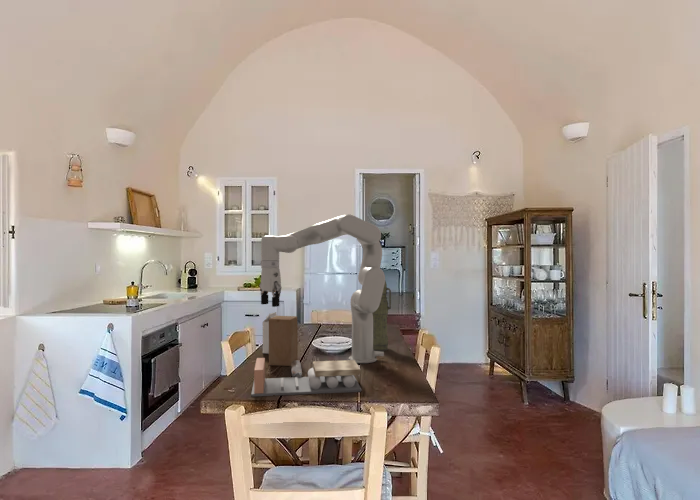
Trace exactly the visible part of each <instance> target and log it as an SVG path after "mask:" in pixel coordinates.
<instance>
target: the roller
mask: <svg viewBox="0 0 700 500" xmlns="http://www.w3.org/2000/svg"><path fill="white" fill-rule="evenodd" d="M290 367H291V368H290V369H291V377H303V372H302V371H303V370H302V365H301V362H300V360H299V359H298V360H294V361H293V362H292V363H291V366H290Z"/></svg>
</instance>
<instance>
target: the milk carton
mask: <svg viewBox="0 0 700 500" xmlns="http://www.w3.org/2000/svg"><path fill="white" fill-rule="evenodd" d="M275 316H279V315H278V314H277V312H272V313H269V314H268V315H267V316H266V317H265V318H266V319H264V320H263V321H262V354H268V355H269V319H270V318H273V317H275Z"/></svg>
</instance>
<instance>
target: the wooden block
mask: <svg viewBox="0 0 700 500" xmlns="http://www.w3.org/2000/svg"><path fill="white" fill-rule="evenodd" d="M298 331H299V330H298V316H297V315H278V316H275V317H273V318H270V319H269V354H268V366H277V367H278V366H280V367H291V363H292V362H293V361H294V360H298V361H299V359H298V350H299V349H298V348H299V347H298V343H299V341H298V339H299V338H298V334H299V333H298Z"/></svg>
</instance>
